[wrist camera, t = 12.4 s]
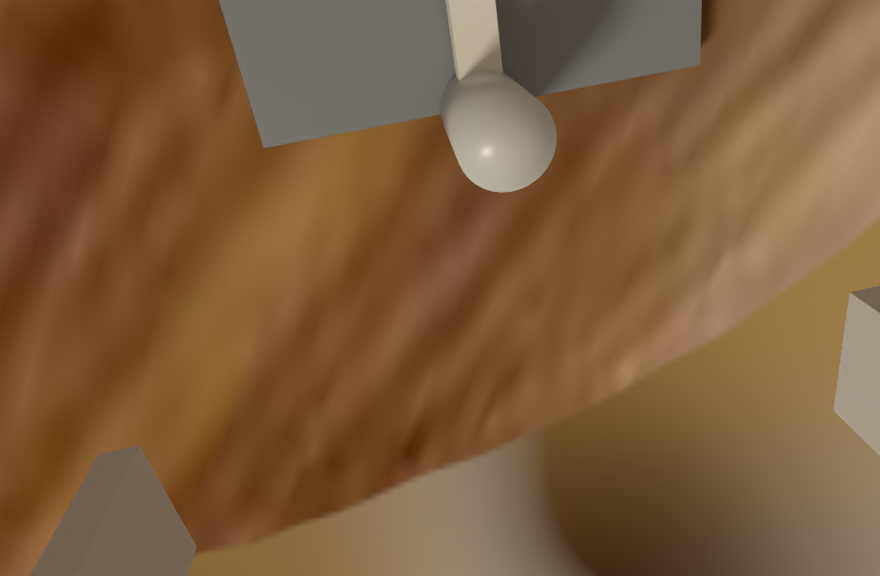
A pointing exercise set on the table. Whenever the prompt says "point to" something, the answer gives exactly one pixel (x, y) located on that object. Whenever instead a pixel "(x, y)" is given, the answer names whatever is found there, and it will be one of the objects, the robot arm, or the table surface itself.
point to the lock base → (435, 54)
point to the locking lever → (491, 106)
